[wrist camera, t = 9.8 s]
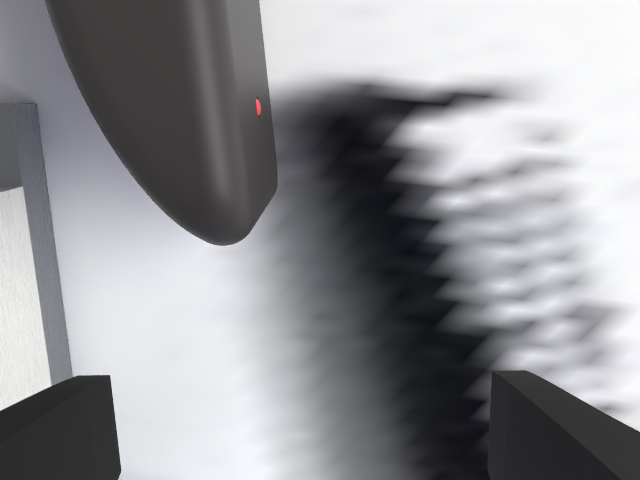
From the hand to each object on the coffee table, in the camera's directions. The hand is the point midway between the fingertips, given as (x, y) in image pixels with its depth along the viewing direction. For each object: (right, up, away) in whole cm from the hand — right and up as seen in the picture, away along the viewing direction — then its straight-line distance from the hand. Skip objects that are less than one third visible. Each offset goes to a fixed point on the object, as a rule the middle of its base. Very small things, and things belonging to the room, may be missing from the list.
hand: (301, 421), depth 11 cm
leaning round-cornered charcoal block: (-3, +11, +7) cm, 14 cm away
